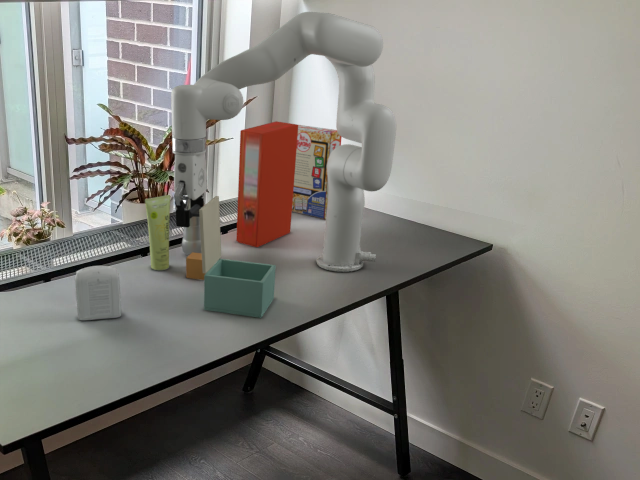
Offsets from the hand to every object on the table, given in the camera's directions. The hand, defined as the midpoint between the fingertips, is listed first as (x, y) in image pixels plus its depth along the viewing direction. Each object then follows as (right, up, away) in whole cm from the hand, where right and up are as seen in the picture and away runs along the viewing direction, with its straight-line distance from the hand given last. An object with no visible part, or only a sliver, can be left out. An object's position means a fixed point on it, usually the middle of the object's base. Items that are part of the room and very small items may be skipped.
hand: (190, 220), depth 171 cm
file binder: (+22, +6, +50) cm, 55 cm away
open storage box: (+12, -19, +6) cm, 23 cm away
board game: (+38, +19, +73) cm, 84 cm away
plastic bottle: (+1, -2, +37) cm, 37 cm away
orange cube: (+3, -10, +22) cm, 24 cm away
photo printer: (-21, -23, 0) cm, 31 cm away
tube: (-8, -7, +28) cm, 30 cm away
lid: (+5, -3, 0) cm, 6 cm away
